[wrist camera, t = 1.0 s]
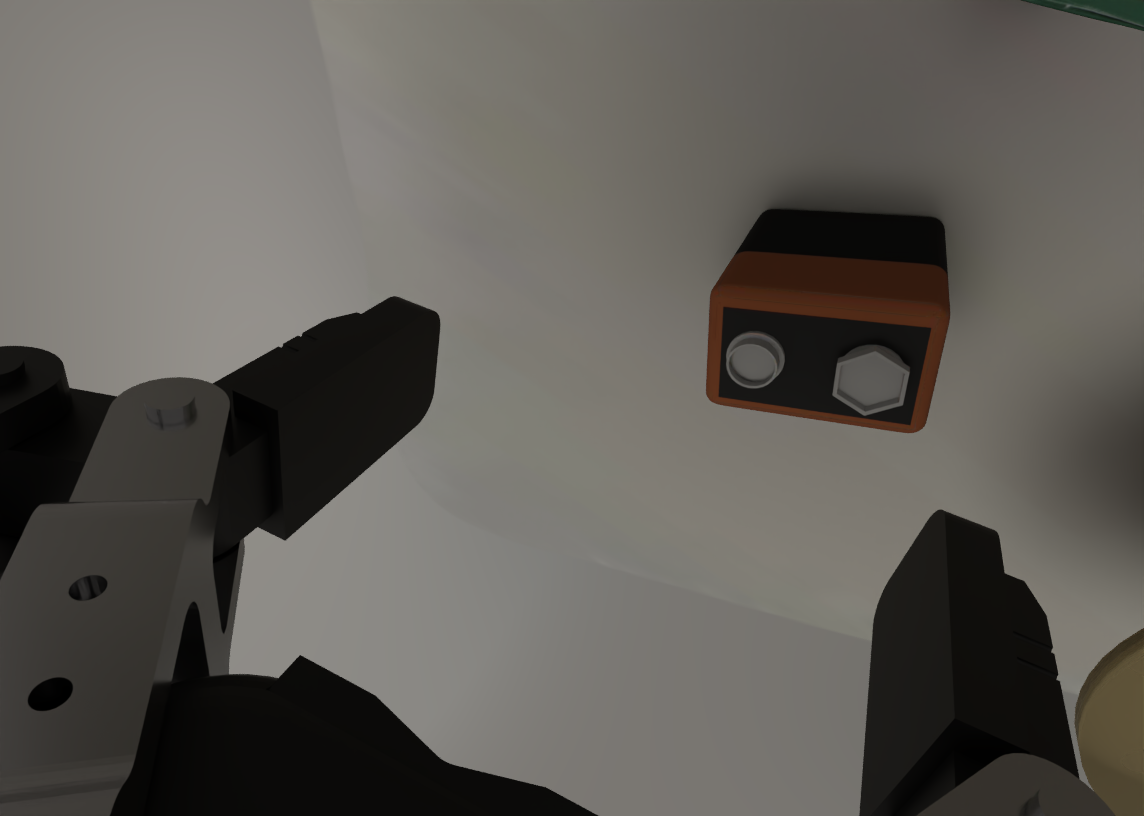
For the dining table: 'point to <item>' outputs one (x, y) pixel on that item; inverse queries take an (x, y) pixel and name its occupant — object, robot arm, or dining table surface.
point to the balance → (1115, 727)
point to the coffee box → (1102, 10)
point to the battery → (832, 318)
